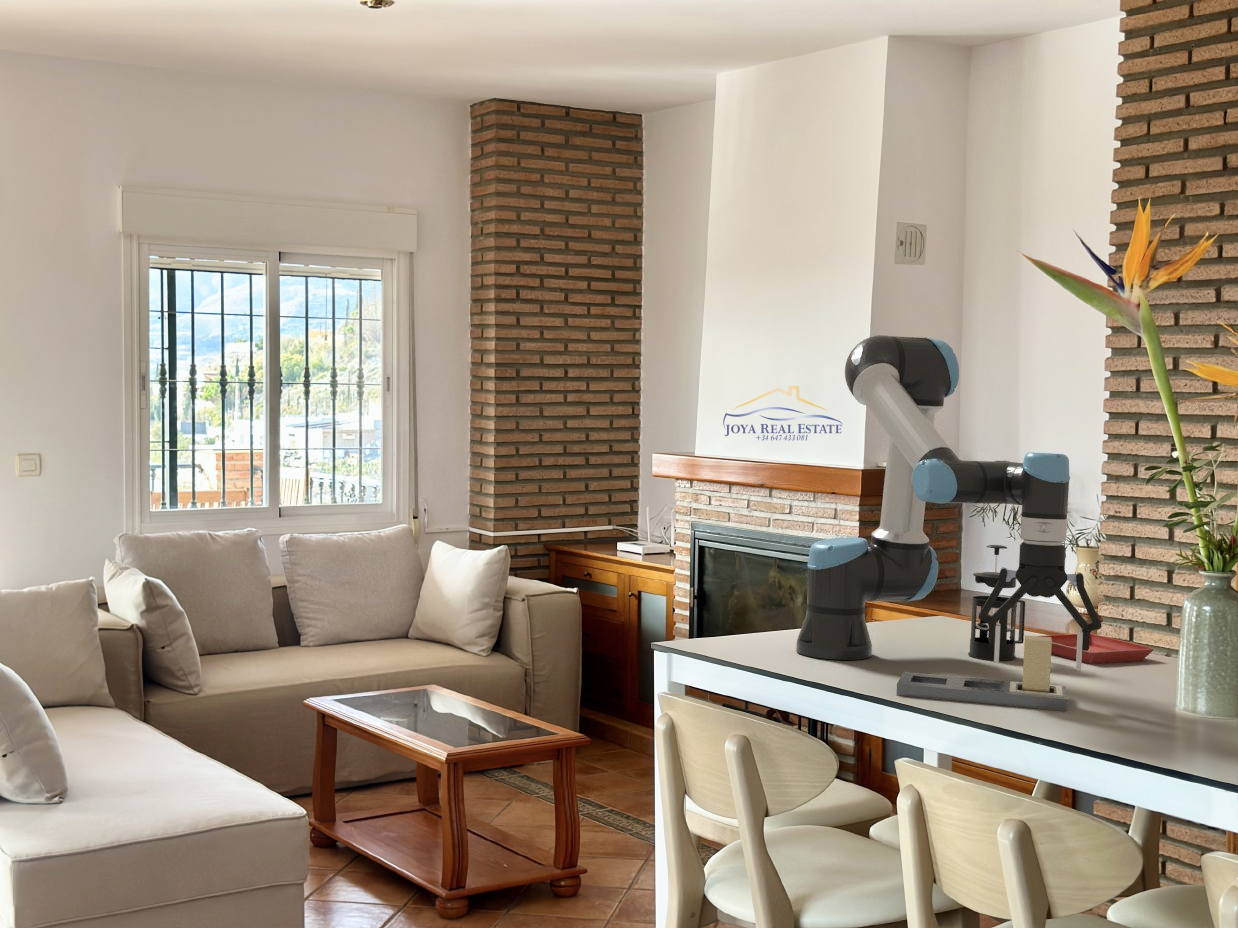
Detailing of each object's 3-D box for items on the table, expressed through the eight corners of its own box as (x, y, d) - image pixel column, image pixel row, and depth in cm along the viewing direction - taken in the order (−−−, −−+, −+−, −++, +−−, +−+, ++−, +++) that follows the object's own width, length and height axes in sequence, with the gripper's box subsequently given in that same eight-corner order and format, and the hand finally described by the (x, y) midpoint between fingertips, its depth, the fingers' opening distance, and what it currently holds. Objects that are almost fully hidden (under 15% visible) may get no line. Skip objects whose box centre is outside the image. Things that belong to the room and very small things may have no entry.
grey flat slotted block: (896, 694, 230) (897, 681, 230) (902, 682, 241) (903, 669, 241) (1066, 711, 222) (1067, 697, 222) (1065, 697, 233) (1065, 684, 233)
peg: (1021, 702, 227) (1024, 638, 227) (1021, 697, 232) (1024, 635, 231) (1048, 705, 226) (1051, 641, 226) (1048, 700, 230) (1051, 637, 230)
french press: (977, 661, 267) (982, 547, 266) (957, 652, 276) (962, 542, 275) (1031, 661, 269) (1037, 548, 268) (1010, 652, 278) (1015, 543, 277)
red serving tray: (1155, 663, 274) (1156, 647, 274) (1090, 667, 266) (1091, 651, 266) (1089, 648, 290) (1089, 632, 290) (1026, 651, 282) (1026, 636, 282)
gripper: (967, 539, 228) (961, 662, 229) (1121, 549, 221) (1115, 675, 221) (969, 536, 235) (963, 655, 236) (1118, 545, 228) (1112, 668, 229)
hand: (1037, 665), depth 229 cm, fingers open, 13 cm apart
